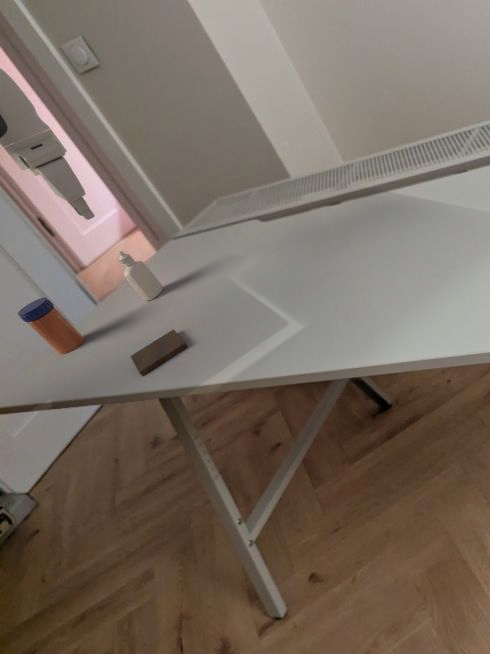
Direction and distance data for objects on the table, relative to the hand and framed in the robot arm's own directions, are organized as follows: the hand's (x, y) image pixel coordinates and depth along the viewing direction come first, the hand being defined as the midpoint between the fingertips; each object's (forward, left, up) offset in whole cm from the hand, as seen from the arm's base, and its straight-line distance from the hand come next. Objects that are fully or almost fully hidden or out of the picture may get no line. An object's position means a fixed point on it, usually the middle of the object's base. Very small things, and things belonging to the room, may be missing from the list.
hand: (87, 216), depth 114 cm
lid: (-19, -1, -11) cm, 22 cm away
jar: (-19, -1, -21) cm, 29 cm away
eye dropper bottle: (+1, 0, -21) cm, 21 cm away
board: (-5, -32, -21) cm, 38 cm away
